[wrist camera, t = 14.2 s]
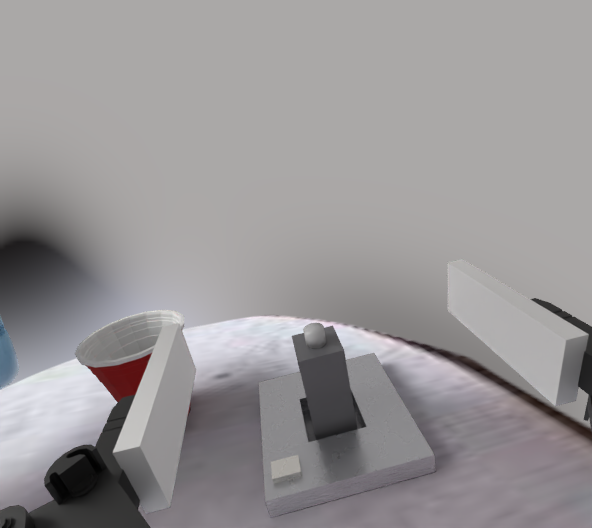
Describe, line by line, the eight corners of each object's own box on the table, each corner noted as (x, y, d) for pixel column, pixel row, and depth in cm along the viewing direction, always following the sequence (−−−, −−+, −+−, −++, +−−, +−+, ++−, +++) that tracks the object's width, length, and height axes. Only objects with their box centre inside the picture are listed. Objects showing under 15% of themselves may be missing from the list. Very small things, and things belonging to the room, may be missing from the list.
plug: (318, 447, 32) (294, 347, 28) (310, 415, 36) (288, 322, 32) (358, 436, 33) (341, 335, 28) (347, 405, 36) (330, 312, 32)
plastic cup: (231, 397, 41) (202, 312, 37) (153, 473, 34) (105, 376, 29) (178, 373, 48) (148, 298, 43) (103, 432, 40) (57, 348, 36)
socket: (270, 517, 28) (263, 496, 27) (262, 395, 41) (257, 378, 40) (435, 471, 28) (434, 449, 27) (375, 366, 41) (373, 348, 40)
